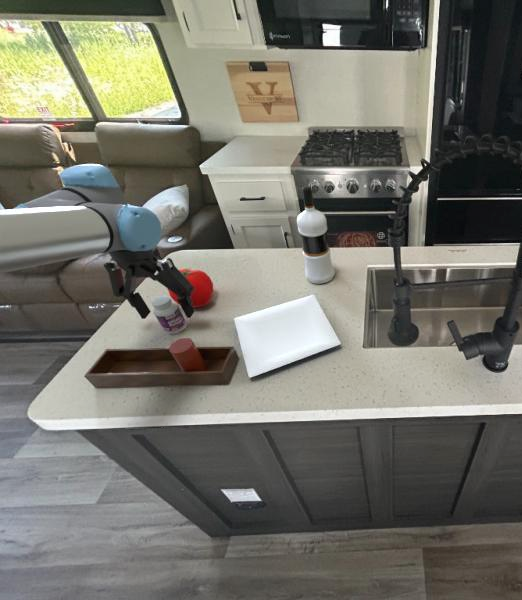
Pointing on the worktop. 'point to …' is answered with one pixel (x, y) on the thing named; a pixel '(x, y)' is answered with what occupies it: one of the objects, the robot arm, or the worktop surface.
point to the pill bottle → (169, 315)
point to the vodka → (314, 241)
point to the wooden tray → (160, 368)
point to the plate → (284, 334)
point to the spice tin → (187, 355)
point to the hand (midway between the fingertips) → (168, 314)
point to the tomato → (197, 287)
